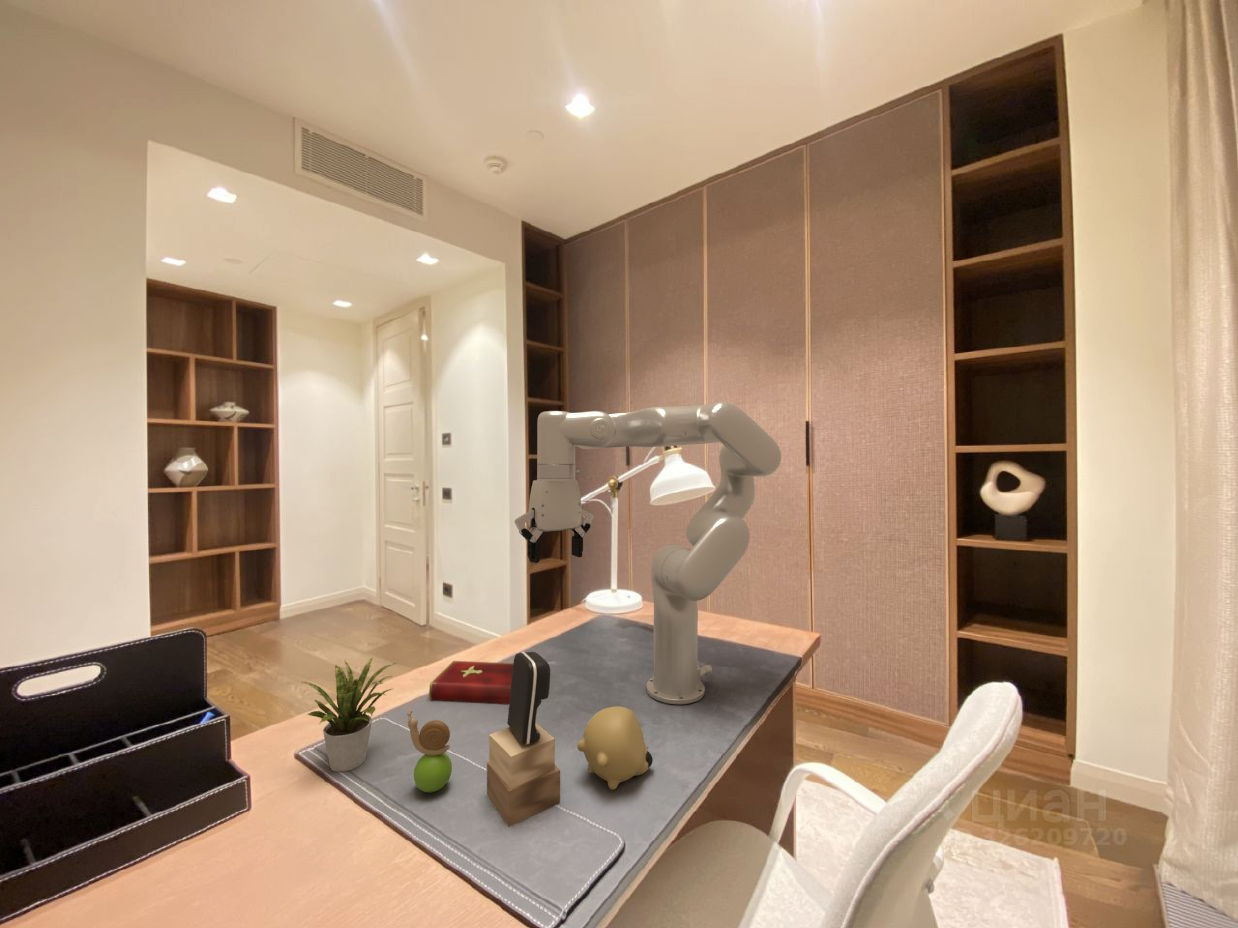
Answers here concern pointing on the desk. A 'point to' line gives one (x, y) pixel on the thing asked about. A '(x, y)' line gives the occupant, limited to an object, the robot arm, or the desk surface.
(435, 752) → the snail figurine
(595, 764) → the toy pig
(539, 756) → the oak block
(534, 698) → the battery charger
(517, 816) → the walnut block
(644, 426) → the robot arm
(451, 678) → the hardcover book
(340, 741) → the house plant
